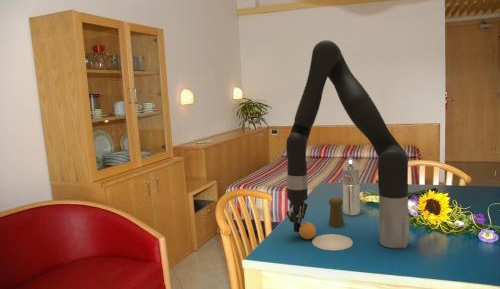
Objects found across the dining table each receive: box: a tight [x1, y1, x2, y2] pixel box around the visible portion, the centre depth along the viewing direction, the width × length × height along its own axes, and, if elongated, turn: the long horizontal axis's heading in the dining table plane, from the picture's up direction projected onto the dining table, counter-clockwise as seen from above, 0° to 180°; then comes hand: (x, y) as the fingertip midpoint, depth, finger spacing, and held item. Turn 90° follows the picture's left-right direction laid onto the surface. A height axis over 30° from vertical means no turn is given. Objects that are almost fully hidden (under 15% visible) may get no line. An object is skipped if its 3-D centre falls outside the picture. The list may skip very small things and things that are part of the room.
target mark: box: [311, 233, 354, 252], centre depth 142 cm, size 14×14×1 cm
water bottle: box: [341, 154, 361, 217], centre depth 168 cm, size 7×7×25 cm
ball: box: [299, 221, 317, 240], centre depth 146 cm, size 6×6×6 cm
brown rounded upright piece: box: [328, 196, 345, 228], centre depth 158 cm, size 6×6×11 cm
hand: (297, 231), depth 148 cm, fingers closed
